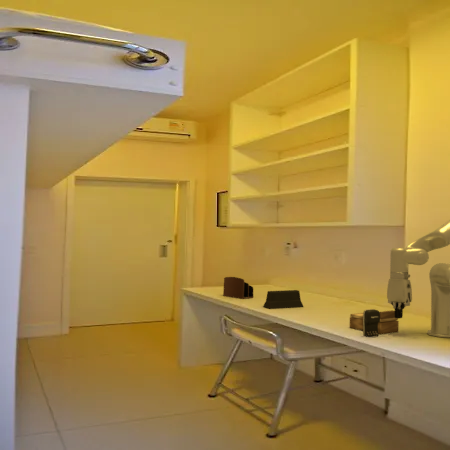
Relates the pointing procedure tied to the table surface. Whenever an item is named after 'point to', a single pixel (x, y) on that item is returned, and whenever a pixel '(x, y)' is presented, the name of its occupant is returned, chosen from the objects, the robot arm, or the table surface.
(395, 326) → the brown shallow rectangular box
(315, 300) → the table surface
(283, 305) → the barrier
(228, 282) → the letter holder
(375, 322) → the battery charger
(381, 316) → the lid
